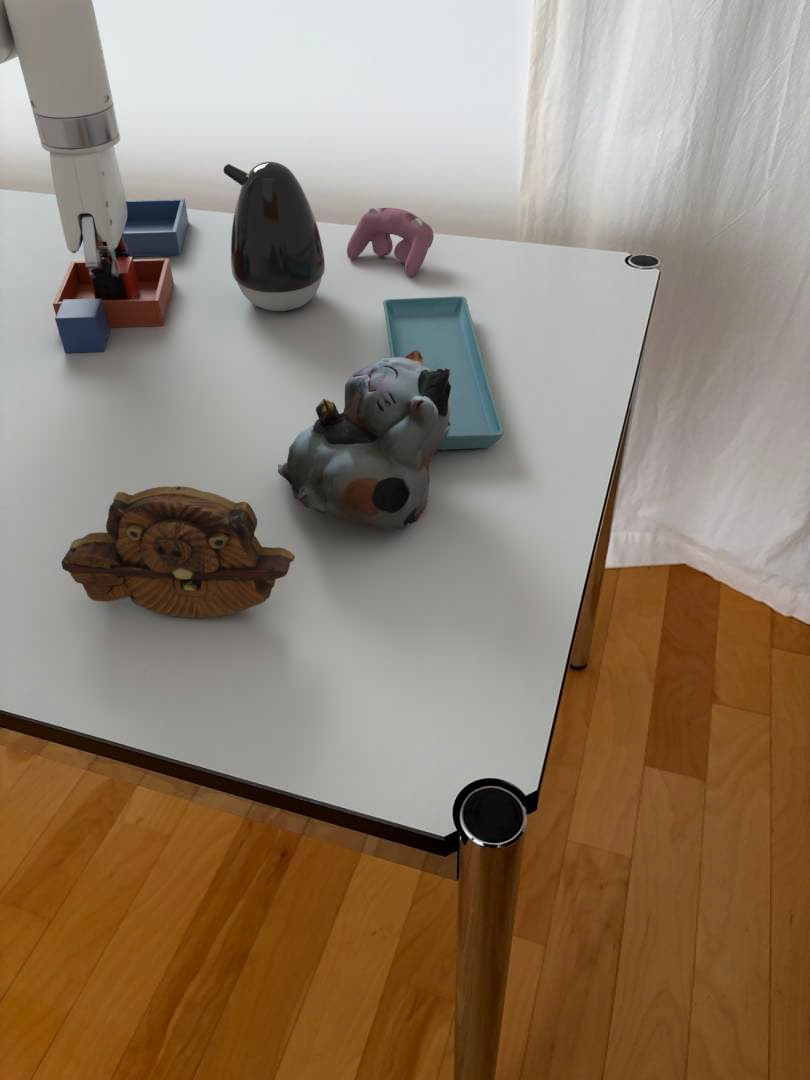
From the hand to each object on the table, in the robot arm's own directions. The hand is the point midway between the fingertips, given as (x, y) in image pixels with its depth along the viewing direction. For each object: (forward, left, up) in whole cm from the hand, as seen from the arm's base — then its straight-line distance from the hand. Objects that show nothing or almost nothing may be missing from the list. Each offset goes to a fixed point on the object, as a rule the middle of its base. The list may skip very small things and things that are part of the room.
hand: (117, 296), depth 100 cm
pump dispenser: (+18, 0, -1) cm, 18 cm away
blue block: (-2, -8, -1) cm, 8 cm away
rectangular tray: (+34, -17, -1) cm, 38 cm away
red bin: (0, 0, -1) cm, 1 cm away
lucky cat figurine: (+26, -34, -1) cm, 43 cm away
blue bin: (0, +17, -1) cm, 17 cm away
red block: (0, 0, 0) cm, 0 cm away
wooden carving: (+12, -47, -1) cm, 49 cm away
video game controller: (+31, +9, -1) cm, 32 cm away
